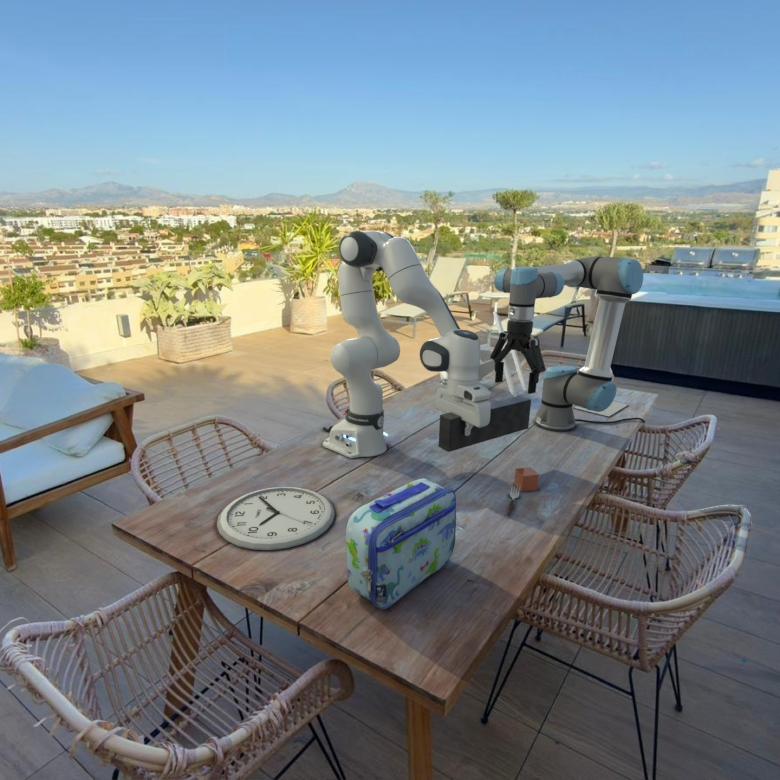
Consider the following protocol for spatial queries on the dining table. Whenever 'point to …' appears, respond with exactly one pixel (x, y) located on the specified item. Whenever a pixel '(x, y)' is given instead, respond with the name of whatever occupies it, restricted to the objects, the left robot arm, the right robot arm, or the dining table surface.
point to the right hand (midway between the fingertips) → (514, 387)
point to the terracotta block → (526, 479)
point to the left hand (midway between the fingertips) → (459, 431)
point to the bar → (503, 421)
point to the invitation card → (609, 411)
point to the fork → (513, 495)
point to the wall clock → (275, 518)
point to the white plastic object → (489, 364)
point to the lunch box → (400, 540)
